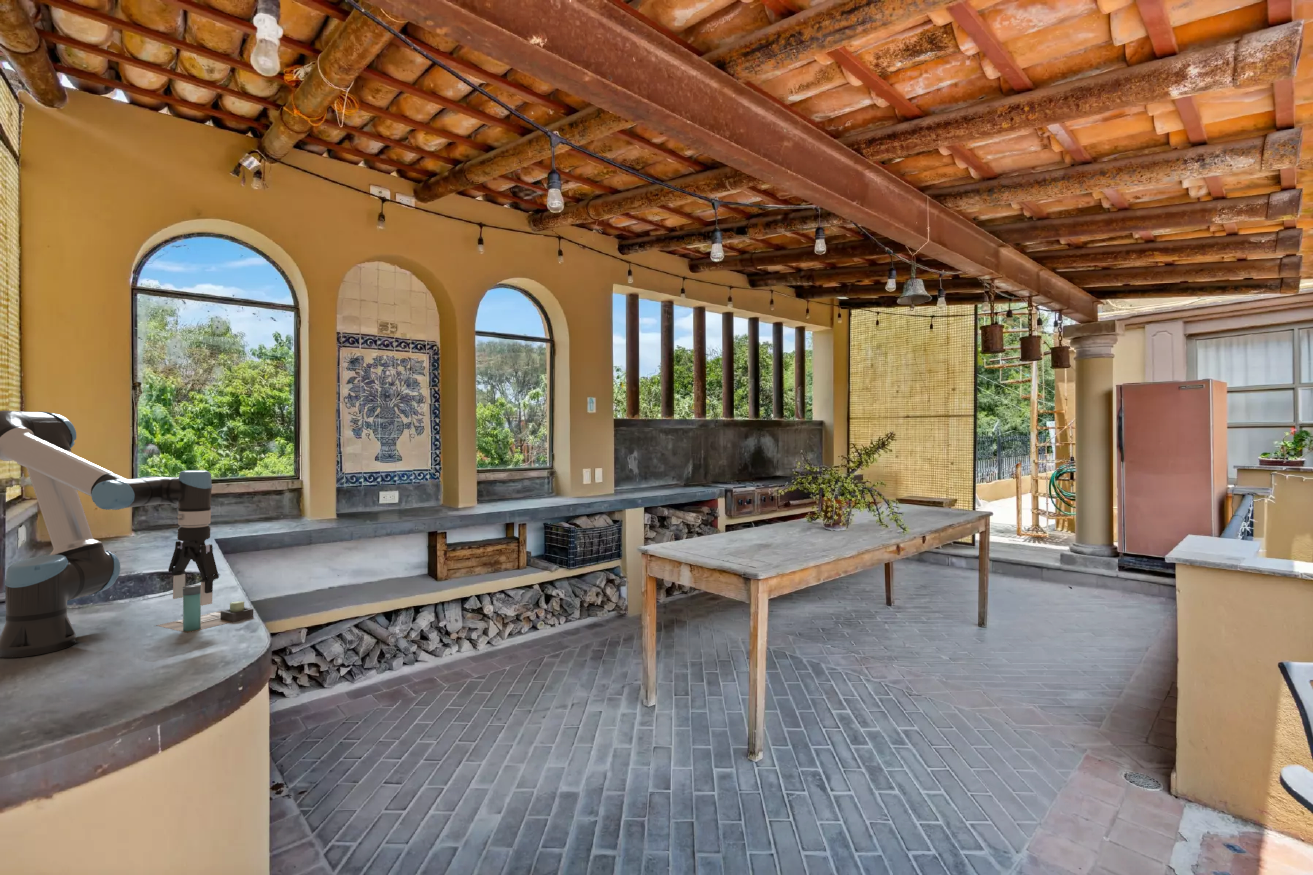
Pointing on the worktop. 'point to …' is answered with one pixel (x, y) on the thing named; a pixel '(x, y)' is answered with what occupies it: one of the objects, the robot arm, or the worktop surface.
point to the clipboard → (213, 619)
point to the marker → (191, 608)
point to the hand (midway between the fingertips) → (192, 601)
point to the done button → (237, 606)
